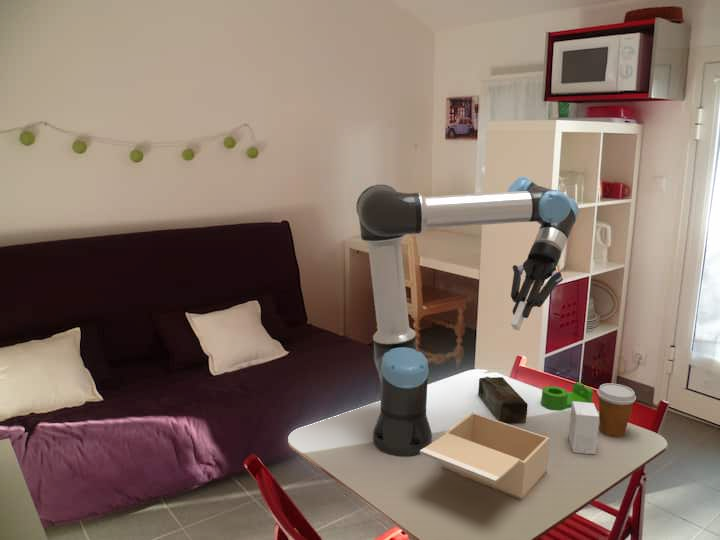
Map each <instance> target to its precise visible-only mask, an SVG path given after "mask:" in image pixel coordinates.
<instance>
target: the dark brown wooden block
mask: <svg viewBox="0 0 720 540" xmlns="http://www.w3.org/2000/svg"><path fill="white" fill-rule="evenodd" d="M477 391H478V392H477V395H478V397H479V398H480V400H481V401H482V402H483V403H484V405H485V406H486V408H488V410H489V411H490V413H491V414H492V415H493V416H494V418H495V420H497V421H500V422H503V423H506V424H526V421H527V416H528V406H529V405H528V402H526V401H525V399H524V398H523V397H522V396H521V395H520V394H519V392H517V391H516V390H515V389H514V388H513V387H512V386H511V385H510V384H509V383H508V382H507V381H506V379H505V378H504V377H501V376H496V377H490V376H484V377H479V379H478V389H477Z"/></svg>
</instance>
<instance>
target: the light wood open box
mask: <svg viewBox="0 0 720 540" xmlns="http://www.w3.org/2000/svg"><path fill="white" fill-rule="evenodd" d="M447 433H449V434H452V435H455V436H458V437H460V438H463V439H466V440H469V441H471V442H474V443H477V444H480V445H482V446H485V447H488V448H491V449H493V450H496V451H499V452H502V453H504V454H507V455H510V456H513V457H516V458H518V459H520V462H519V463H518V464H517V465H516V466H515V467H514V468H513V469H511V470H510V471H509V472H508V473H507V474H506V475H505V476H503V477H502V478H501V479H500V480H499V481H498V482H497V483H496V484H495V483H492V482H490V481H487V480H485V479H482V478H479V477H477V476H474V475H472V474H469V473H467V472H464V471H462V470H459V469H457V468H454V467H452V466H449V465H447V464H444V463H442V466H441V467H442V469H444V470H447V471H449V472H451V473H454V474H457V475H458V476H461V477H463V478H466V479H468V480H470V481H473V482H476V483H479V484H481V485H484V486H486V487H489V488H491V489H494V490H496V491H499V492H500V493H504V495H505V494H506V495H508V496H511V497H513V498H516V499H518V500H520V501H522V500H523V499H524V498H525V497H527V495H528V493H530V491H531V490H532V489H533V488H534V487H535V485H537V484H538V483H539V482H540V480H541V479H542V478H543V477H544V476H545V475H546V473H547V469H548V460H549V459H548V458H549V447H550V437H548V436H545V435H543V434H539V433H536V432H533V431H529V430H526V429H524V428H521V427H518V426H515V425H512V424H510V423H503V422H500V421H498V420H497V419H493V418H491V417H487V416H484V415H483V414H478V413H475V412H471V413H470V414H469V415H467V416H466V417H465V418H463V419H461V421H459V422H458V423H457V424H455V425H454V426H453V427H450V429H448V430H446V431H445V432H444V433H443V435H445V434H447Z"/></svg>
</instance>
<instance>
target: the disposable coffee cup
mask: <svg viewBox="0 0 720 540" xmlns="http://www.w3.org/2000/svg"><path fill="white" fill-rule="evenodd" d="M596 392H597V395H598V414H599V431H600V432H601V433H602V434H604V435H606V436H609V437H614V438H618V437H619V438H621V437H624V436H625V434H626V432H627V431H626V430H627V426H628V423H629V421H630V420H629V419H630V416H631V412H632V408H633V405H634V403H635V401H636V399H637V396H636V394H635V393H636V392H635V391H634V390H633V388H631V387H629V386H627V385H623V384H619V383H611V382H610V383H603V384H600V385H599V387H598V389H597V391H596Z"/></svg>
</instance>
